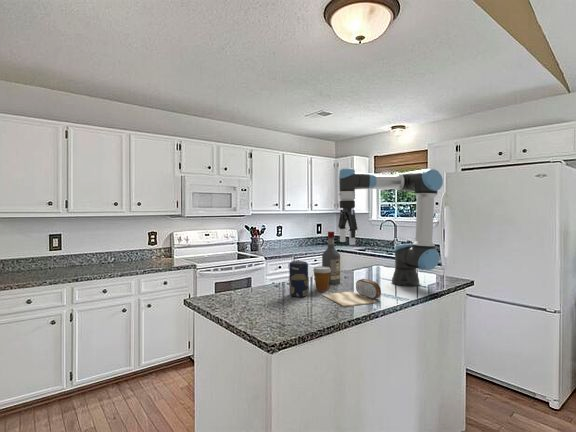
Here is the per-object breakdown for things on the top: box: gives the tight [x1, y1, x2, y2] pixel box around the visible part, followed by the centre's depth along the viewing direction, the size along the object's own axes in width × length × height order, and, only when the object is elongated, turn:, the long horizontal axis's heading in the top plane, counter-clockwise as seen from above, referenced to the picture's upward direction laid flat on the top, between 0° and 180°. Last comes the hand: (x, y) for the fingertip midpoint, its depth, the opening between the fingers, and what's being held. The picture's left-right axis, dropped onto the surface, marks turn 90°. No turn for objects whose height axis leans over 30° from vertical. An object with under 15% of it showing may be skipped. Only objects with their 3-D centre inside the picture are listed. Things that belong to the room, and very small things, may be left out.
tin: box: [355, 278, 382, 300], centre depth 173 cm, size 15×3×8 cm, turn 32°
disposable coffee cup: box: [312, 265, 331, 292], centre depth 188 cm, size 10×10×12 cm
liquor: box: [321, 231, 341, 285], centre depth 205 cm, size 9×9×30 cm
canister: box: [288, 259, 309, 298], centre depth 176 cm, size 10×10×18 cm
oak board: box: [322, 291, 377, 308], centre depth 169 cm, size 17×21×1 cm
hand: (347, 243), depth 173 cm, fingers open, 13 cm apart
